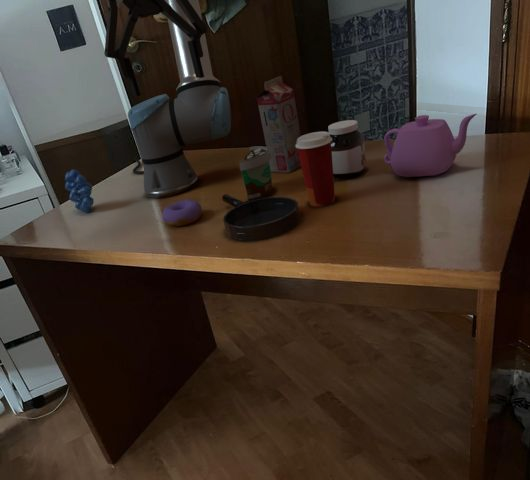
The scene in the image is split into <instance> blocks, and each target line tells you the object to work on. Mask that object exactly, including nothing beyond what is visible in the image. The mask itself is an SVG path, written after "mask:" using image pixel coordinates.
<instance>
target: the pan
mask: <svg viewBox="0 0 530 480" xmlns="http://www.w3.org/2000/svg"><path fill="white" fill-rule="evenodd" d="M300 221H301V213H300V207H299V202H298V201H297V200H296V199H294V198H292V197H286V196H270V197H269V196H267V197H266V198H262V199H257V200H253V201H250V202H247V203H244V204H241V205H239V206H237V207H233V208H231V209H230V210H228V211H227V212H226V213H225V214H224V216H223V219H222V222H223V225H224V228H225V232H226V236H227V237H229V238H230V239H232V240H235V241H239V242H240V241H241V242H253V241H261V240H266V239H270V238H274V237H277V236H280V235H282V234H285V233H287V232H289V231H290V230H292V229H294V228H295V227H296V226H297V225H298V224H299V223H300Z"/></svg>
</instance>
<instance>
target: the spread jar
mask: <svg viewBox="0 0 530 480" xmlns="http://www.w3.org/2000/svg"><path fill="white" fill-rule="evenodd" d="M327 127H328V128H327V130H328V131H327V132H328V133H329V134H330V137H331V138H332V141H331V150H332V163H333V177H334V179H337V180H349V179H354V178H356V177H359V176H361V175H362V174H363V173H364V171H365V168H366V165H367V163H366V162H367V161H366V160H367V157H366V146H365V138H364V135H363V133H362V132H361V130H360V129H359V123H358V121H357V120H355V119H348V120H347V119H346V120H341V121H337V122H333V123H331V124H329V125H328V126H327Z"/></svg>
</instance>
